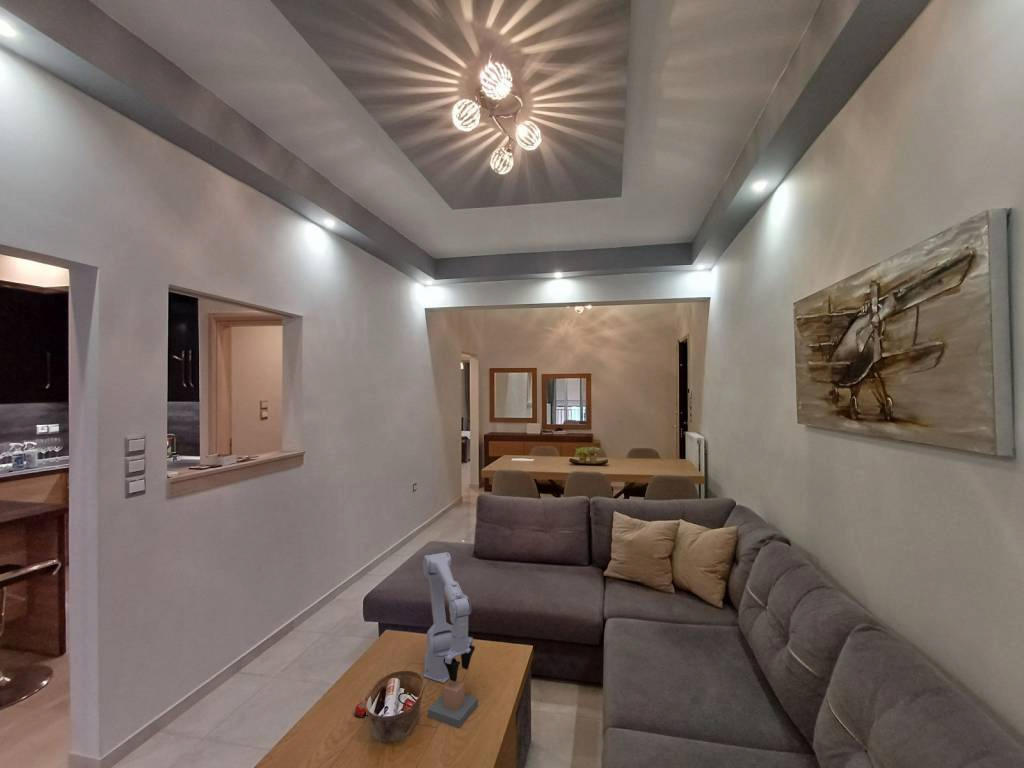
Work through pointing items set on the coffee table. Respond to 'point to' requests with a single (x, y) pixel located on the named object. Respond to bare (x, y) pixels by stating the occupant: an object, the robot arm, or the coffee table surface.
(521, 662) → the coffee table surface
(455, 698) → the terracotta block
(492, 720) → the coffee table surface
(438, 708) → the charcoal flat pad
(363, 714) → the race car
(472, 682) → the coffee table surface
